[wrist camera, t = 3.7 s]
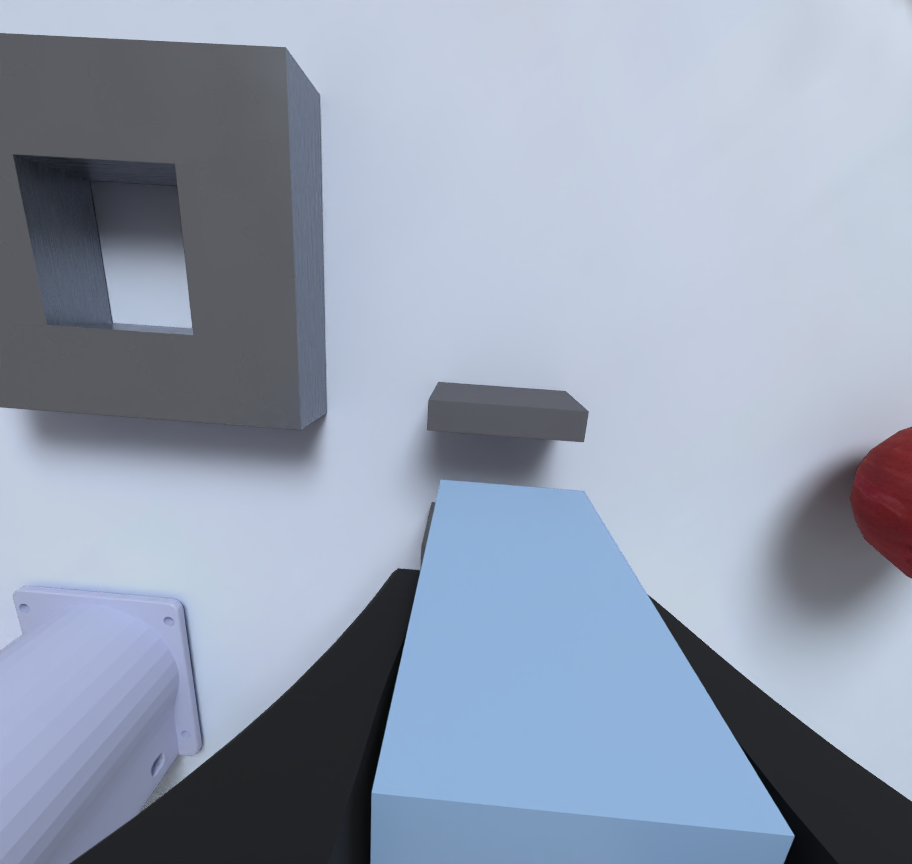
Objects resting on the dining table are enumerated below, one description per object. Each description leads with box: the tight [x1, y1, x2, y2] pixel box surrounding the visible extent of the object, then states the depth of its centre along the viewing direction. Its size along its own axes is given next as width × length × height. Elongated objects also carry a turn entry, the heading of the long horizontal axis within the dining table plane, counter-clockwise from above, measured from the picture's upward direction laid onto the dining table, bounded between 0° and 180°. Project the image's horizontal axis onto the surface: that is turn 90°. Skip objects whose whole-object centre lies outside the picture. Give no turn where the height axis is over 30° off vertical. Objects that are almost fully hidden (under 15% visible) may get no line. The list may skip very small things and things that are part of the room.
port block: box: [0, 33, 327, 430], centre depth 14 cm, size 11×12×3 cm
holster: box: [421, 382, 589, 567], centre depth 16 cm, size 6×5×4 cm
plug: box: [370, 480, 795, 864], centre depth 7 cm, size 4×4×7 cm
